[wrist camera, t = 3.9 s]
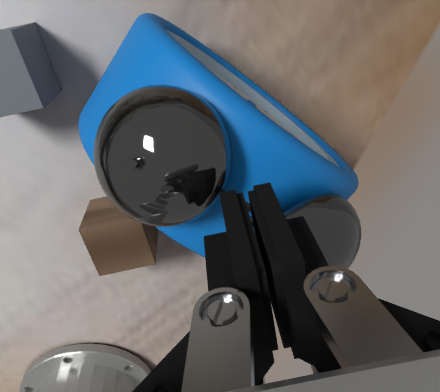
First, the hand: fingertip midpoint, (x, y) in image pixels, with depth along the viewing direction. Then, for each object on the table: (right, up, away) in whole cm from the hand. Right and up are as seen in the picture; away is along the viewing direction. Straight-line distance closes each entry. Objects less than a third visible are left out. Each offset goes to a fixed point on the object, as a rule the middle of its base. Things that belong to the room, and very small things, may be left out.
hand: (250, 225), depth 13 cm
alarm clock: (-2, +7, +13) cm, 15 cm away
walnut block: (-8, -1, +17) cm, 19 cm away
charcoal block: (-13, +9, +11) cm, 19 cm away
